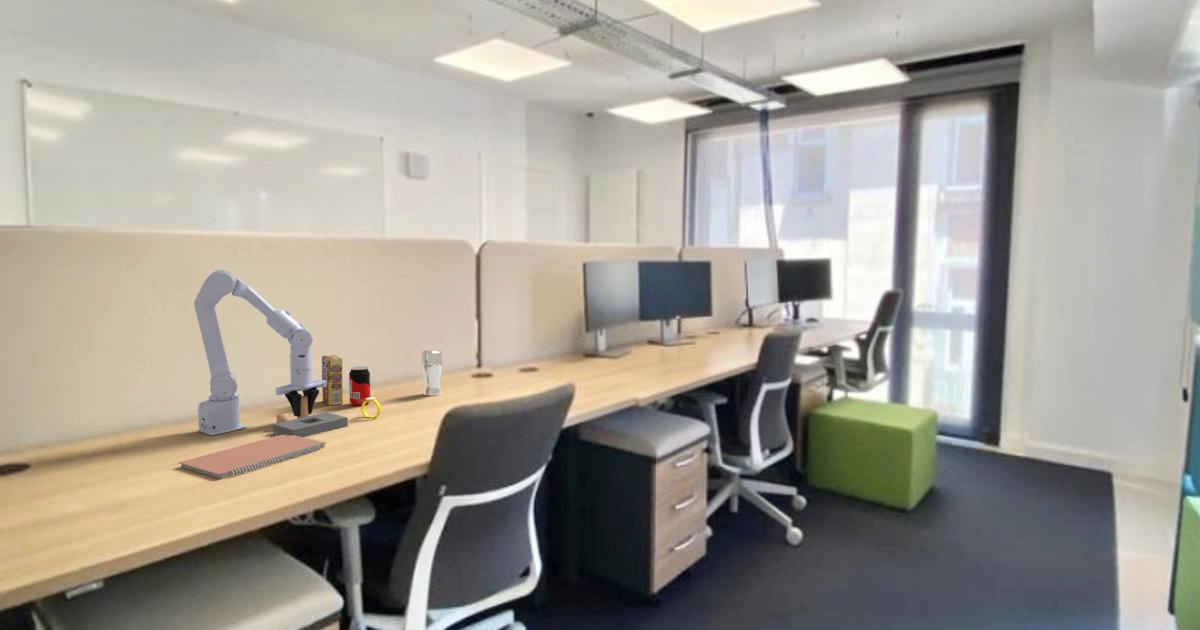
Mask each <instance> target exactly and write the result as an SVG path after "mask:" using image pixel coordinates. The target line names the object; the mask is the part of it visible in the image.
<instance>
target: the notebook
mask: <svg viewBox="0 0 1200 630" xmlns="http://www.w3.org/2000/svg"><path fill="white" fill-rule="evenodd" d="M326 444H327V442H326V441H325V442H324V441H321V440H317V439H312V438H309V437H308V438H307V437H300V436H295V435H291V434H282V435H279V434H278V435H276V436H273V437H267V438H264V439H261V440H258V441H257V440H256V441H252V442H249V443H246V444H242V445H239V446H235V447H231V448H227V449H223V450H220V451H216V452H215V451H214V452H213V453H209V454H205V455H202V456H198V457H197V456H196V457H193V458H190V459H186V460H182V461H179V462H178V464H180V466H181V467H180V468H182V467H184V468H183V469H186V468H188V469H187V470H189V469H191V470H190V471H192V470H194V471H193V472H196V471H198V472H197V473H199V472H201V473H200V474H202V473H204V474H203V475H206V474H208V475H207V476H209V475H211V476H210V477H212V476H213V478H216V479H219V480H223V479H222V478H224V479H227V478H230V477H229V476H231V477H232V478H234V477H235V476H236V477H238V476H241V475H244V474H247V473H250V472H253V471H256V470H259V469H262V468H265V467H266V466H269V465H270V466H271V465H272V464H273V465H274V464H275V463H276V464H279V463H282V462H283V461H284V462H285V461H286V460H287V461H288V460H289V459H291V460H293V459H295V458H298V457H299V456H300V457H301V456H302V455H303V456H306V455H308V454H311V453H312V452H314V451H315V452H319V451H321V449H324V448H325V445H326ZM323 447H324V448H323ZM320 448H321V449H320ZM316 449H317V450H316ZM313 450H314V451H313ZM303 453H304V454H303ZM290 457H291V458H290ZM287 458H288V459H287ZM280 460H281V461H280ZM277 461H278V462H277ZM274 462H275V463H274ZM271 463H272V464H271ZM268 464H269V465H268ZM265 465H266V466H265ZM262 466H263V467H262ZM259 467H260V468H259ZM256 468H257V469H256ZM251 469H252V470H251ZM248 470H249V471H248ZM245 471H246V472H245ZM242 472H243V473H242ZM239 473H240V474H239ZM235 474H237V475H235ZM232 475H233V476H232ZM226 477H227V478H226Z"/></svg>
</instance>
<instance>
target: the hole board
mask: <svg viewBox="0 0 1200 630" xmlns="http://www.w3.org/2000/svg"><path fill="white" fill-rule="evenodd" d="M348 421H349V420H348V417H347V416H343V415H339V414H335V413H331V412H328V411H327V412H322V413H318V414H312V415H309V416H308V417H303V418H298V419H297V418H295V419H291V420H290V419H289V421H285V422H280V423H277V422H275V423H272V427H273V434H275V433H276V435H278V436H279V435H282V434H291V435H295V436H300V437H304V438H306V437H309V436H312V435H318V434H321V432H322V433H325V432H330V431H333V430H337V429H342V428H346V427H348V424H349V422H348Z"/></svg>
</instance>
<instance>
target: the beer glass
mask: <svg viewBox="0 0 1200 630" xmlns="http://www.w3.org/2000/svg"><path fill="white" fill-rule="evenodd" d="M442 370H443V356H442V350H434V349H432V350H431V349H429V350H424V351H422V352H421V371H422V377H423V382H424V388H423V396H426V397H428V396H429V397H433V396H435V397H436V396H440V395H442V389H441V378H442V377H441V376H442V372H443V371H442Z"/></svg>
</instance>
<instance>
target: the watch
mask: <svg viewBox="0 0 1200 630" xmlns="http://www.w3.org/2000/svg"><path fill="white" fill-rule="evenodd" d="M367 401H368V402H369V403H370V402H373V403H374V404H375V405H376V408H377V412H376V415H369V414H368V413H367V411H366V409H365V407H366V405H365V404H366V402H367ZM360 407H361V409H360V410H361V413H362V416H364V417H365V418H366V417H370V418H371V419H376V418H378V417H379V416H380V415H381V413H382V406H381V403H380V402H379V400H377V399H376V397H374V396H373V397H371V396H370V398H366V400H365V401H364V402H363V403H362V406H360ZM370 418H369V419H370Z"/></svg>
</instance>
